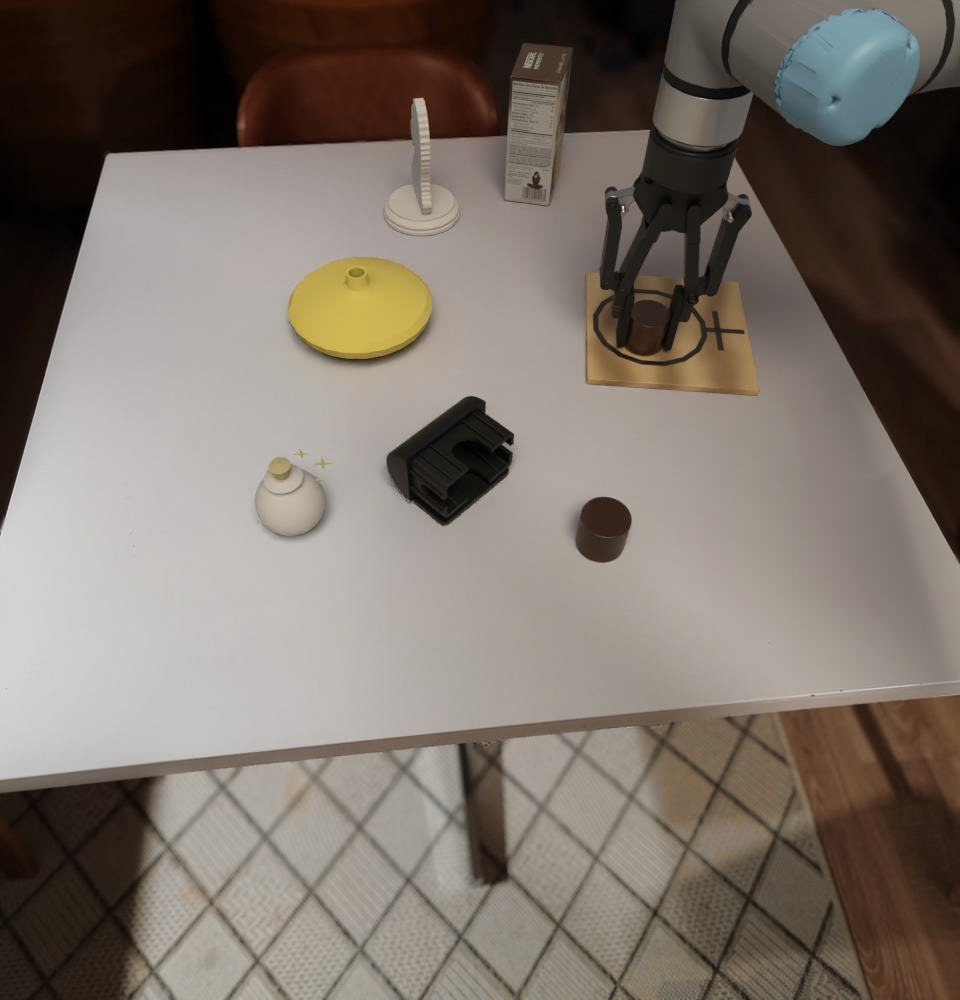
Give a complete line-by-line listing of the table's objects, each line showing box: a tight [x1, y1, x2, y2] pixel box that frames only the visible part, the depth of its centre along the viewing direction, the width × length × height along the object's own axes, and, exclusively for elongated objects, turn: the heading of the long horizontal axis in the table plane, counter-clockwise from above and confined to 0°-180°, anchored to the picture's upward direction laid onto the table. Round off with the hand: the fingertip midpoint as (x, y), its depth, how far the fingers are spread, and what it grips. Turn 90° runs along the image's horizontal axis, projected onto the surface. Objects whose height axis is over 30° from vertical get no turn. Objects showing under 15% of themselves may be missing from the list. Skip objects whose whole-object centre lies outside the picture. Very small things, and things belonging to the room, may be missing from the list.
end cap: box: [385, 395, 515, 526], centre depth 71 cm, size 10×7×7 cm
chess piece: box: [383, 97, 461, 237], centre depth 93 cm, size 10×10×15 cm
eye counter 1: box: [575, 496, 633, 564], centre depth 68 cm, size 4×4×4 cm
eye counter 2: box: [625, 300, 671, 355], centre depth 82 cm, size 4×4×4 cm
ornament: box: [254, 449, 333, 537], centre depth 66 cm, size 6×7×10 cm
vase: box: [286, 256, 433, 360], centre depth 83 cm, size 16×16×7 cm
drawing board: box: [584, 271, 761, 396], centre depth 86 cm, size 18×18×1 cm
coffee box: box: [503, 42, 574, 207], centre depth 97 cm, size 9×6×16 cm
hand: (643, 339), depth 84 cm, fingers closed on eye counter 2, 4 cm apart
